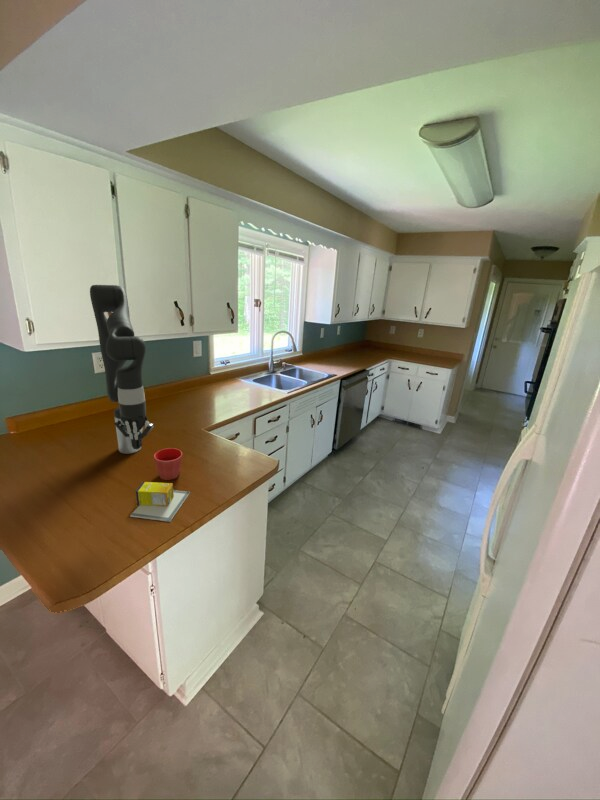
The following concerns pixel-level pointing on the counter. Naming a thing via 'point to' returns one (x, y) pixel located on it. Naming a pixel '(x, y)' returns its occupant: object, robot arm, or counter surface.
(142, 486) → the supplement box
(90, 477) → the counter surface
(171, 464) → the flower pot
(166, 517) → the mat
